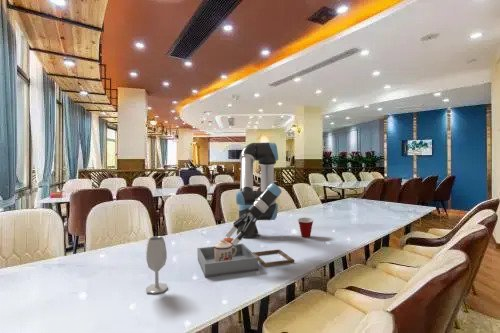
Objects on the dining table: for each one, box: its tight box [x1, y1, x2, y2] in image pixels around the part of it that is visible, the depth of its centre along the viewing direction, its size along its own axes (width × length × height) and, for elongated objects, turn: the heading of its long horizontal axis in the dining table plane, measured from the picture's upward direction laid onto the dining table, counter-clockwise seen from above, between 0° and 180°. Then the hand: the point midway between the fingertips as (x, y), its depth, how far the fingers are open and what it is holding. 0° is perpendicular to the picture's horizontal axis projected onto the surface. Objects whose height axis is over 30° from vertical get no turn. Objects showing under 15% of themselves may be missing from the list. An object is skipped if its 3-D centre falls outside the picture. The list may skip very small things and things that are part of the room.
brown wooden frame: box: [251, 248, 295, 268], centre depth 153 cm, size 18×16×2 cm
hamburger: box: [219, 237, 234, 245], centre depth 170 cm, size 9×10×7 cm
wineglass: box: [145, 235, 169, 295], centre depth 117 cm, size 9×9×21 cm
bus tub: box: [196, 243, 259, 278], centre depth 145 cm, size 25×25×6 cm
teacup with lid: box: [213, 238, 237, 262], centre depth 145 cm, size 12×9×12 cm
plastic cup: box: [297, 217, 315, 239], centre depth 196 cm, size 11×11×12 cm
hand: (229, 240), depth 146 cm, fingers open, 13 cm apart
